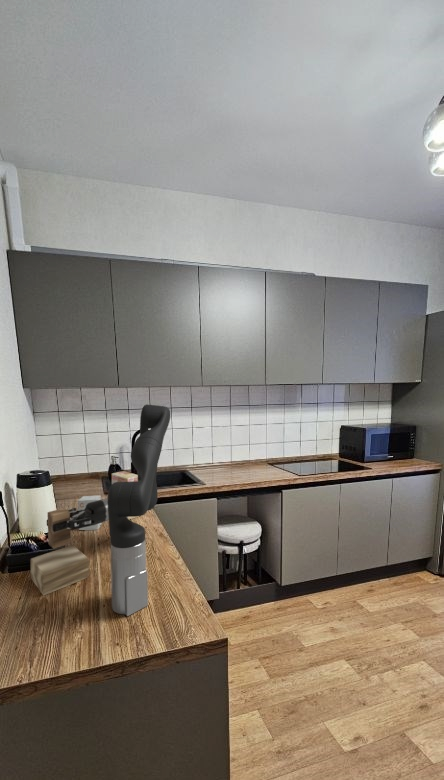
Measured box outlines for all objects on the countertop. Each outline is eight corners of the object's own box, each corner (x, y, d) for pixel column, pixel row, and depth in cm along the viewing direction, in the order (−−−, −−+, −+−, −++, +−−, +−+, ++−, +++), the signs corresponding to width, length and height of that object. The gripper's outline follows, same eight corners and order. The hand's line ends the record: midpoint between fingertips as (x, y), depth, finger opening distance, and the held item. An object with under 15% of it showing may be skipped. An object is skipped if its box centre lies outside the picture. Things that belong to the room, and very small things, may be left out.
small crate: (70, 543, 104) (70, 511, 104) (53, 549, 100) (52, 516, 100) (65, 538, 107) (64, 507, 107) (48, 544, 104) (47, 512, 104)
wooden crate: (90, 577, 103) (89, 557, 103) (43, 596, 94) (43, 574, 94) (74, 562, 113) (73, 544, 113) (30, 578, 103) (30, 558, 103)
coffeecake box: (141, 516, 154) (140, 475, 154) (127, 521, 148) (126, 478, 149) (124, 509, 164) (124, 470, 164) (111, 513, 159) (110, 473, 159)
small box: (101, 524, 146) (101, 494, 146) (98, 530, 139) (97, 499, 140) (83, 525, 145) (82, 495, 145) (78, 531, 139) (77, 500, 139)
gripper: (93, 495, 119) (42, 508, 107) (111, 504, 108) (57, 519, 97) (94, 516, 119) (43, 531, 107) (112, 527, 108) (57, 545, 97)
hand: (50, 525), depth 102 cm, fingers closed on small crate, 5 cm apart
